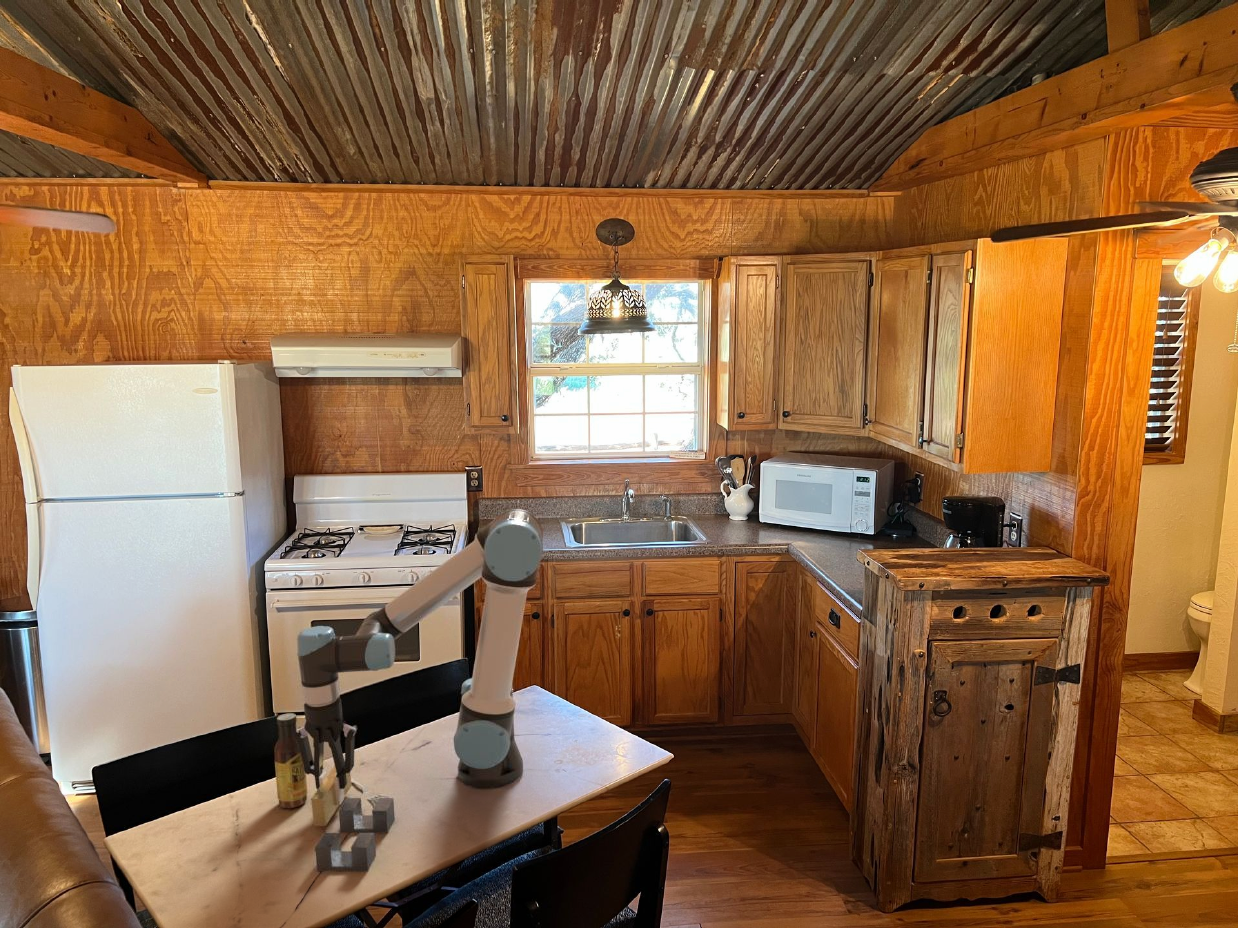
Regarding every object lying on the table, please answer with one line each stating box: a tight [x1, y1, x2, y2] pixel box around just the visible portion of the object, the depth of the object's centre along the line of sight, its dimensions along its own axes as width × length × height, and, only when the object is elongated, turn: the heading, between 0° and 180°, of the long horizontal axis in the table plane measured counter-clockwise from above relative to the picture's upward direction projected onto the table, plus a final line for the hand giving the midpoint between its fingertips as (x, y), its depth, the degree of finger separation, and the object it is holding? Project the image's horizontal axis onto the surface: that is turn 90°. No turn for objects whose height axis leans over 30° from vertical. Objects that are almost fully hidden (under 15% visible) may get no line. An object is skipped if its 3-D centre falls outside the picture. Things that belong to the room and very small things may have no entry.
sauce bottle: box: [274, 712, 308, 809], centre depth 195 cm, size 6×6×20 cm
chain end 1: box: [338, 797, 396, 834], centre depth 186 cm, size 10×5×5 cm, turn 88°
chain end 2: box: [314, 832, 377, 872], centre depth 174 cm, size 10×5×5 cm, turn 88°
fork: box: [351, 777, 389, 802], centre depth 204 cm, size 3×24×2 cm, turn 45°
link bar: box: [310, 765, 353, 827], centre depth 192 cm, size 2×16×6 cm, turn 178°
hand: (333, 801), depth 192 cm, fingers closed on link bar, 2 cm apart
